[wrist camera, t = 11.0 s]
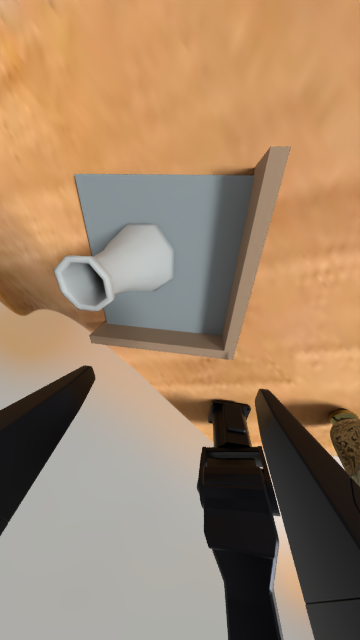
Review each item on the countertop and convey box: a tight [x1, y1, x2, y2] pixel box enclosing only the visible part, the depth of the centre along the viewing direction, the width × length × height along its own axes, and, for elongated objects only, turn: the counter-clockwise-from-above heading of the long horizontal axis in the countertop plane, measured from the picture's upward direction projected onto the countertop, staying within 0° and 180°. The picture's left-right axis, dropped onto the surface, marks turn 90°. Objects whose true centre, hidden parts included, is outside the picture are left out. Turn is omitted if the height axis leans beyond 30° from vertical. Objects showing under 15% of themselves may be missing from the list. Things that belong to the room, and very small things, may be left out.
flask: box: [54, 223, 174, 311], centre depth 13 cm, size 7×7×10 cm
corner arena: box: [74, 146, 291, 360], centre depth 16 cm, size 18×18×4 cm
